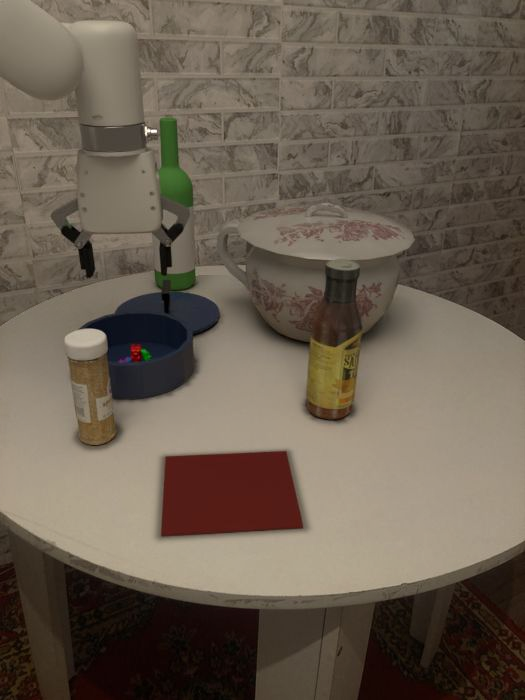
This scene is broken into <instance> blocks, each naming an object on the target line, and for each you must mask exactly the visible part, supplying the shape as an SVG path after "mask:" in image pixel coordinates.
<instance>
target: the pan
mask: <svg viewBox="0 0 525 700" xmlns="http://www.w3.org/2000/svg"><path fill="white" fill-rule="evenodd" d="M80 329H97V330H100V331H102V332H104V333H105V334H106V337H107V345H108V350H107V361H108V369H109V376H110V383H111V391H112V400H113V399H114V400H141V399H149V398H152V397H156V396H161V395H164V394H167V393H169V392H172V391H174V390H175V389H178V388H179V387H180V386H182V385H184V384H185V383H186V382H187V381H188V380H189V379H190V377H191V376H192V374H193V372H194V369H195V366H194V363H195V362H194V361H195V360H194V334H193V330H192V328H191V327H190V326H189V325H188V324H187V323H186V322H185V321H184V320H182V319H179V318H177V317H175V316H172V315H170V314H166V313H159V312H153V311H126V312H121V313H115V312H114V313H111V314H106V315H103V316H100V317H97V318H95V319H92V320H89V321H87V322H85V323H84V324H83V325H82V326H80V327H79V328H78V329H77V330H80ZM132 344H135V346H137V344H140V345H141V349H142V350H143V349H145V350H146V351H147V352H148V353H149V354H150V355H149V356H151V358H150V360H146V361H144V359H143V357H142V361H141V362H118V361H119V360H120V359H122V360H124V359H126V357H130V358H131V345H132ZM141 355H142V354H141Z"/></svg>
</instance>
